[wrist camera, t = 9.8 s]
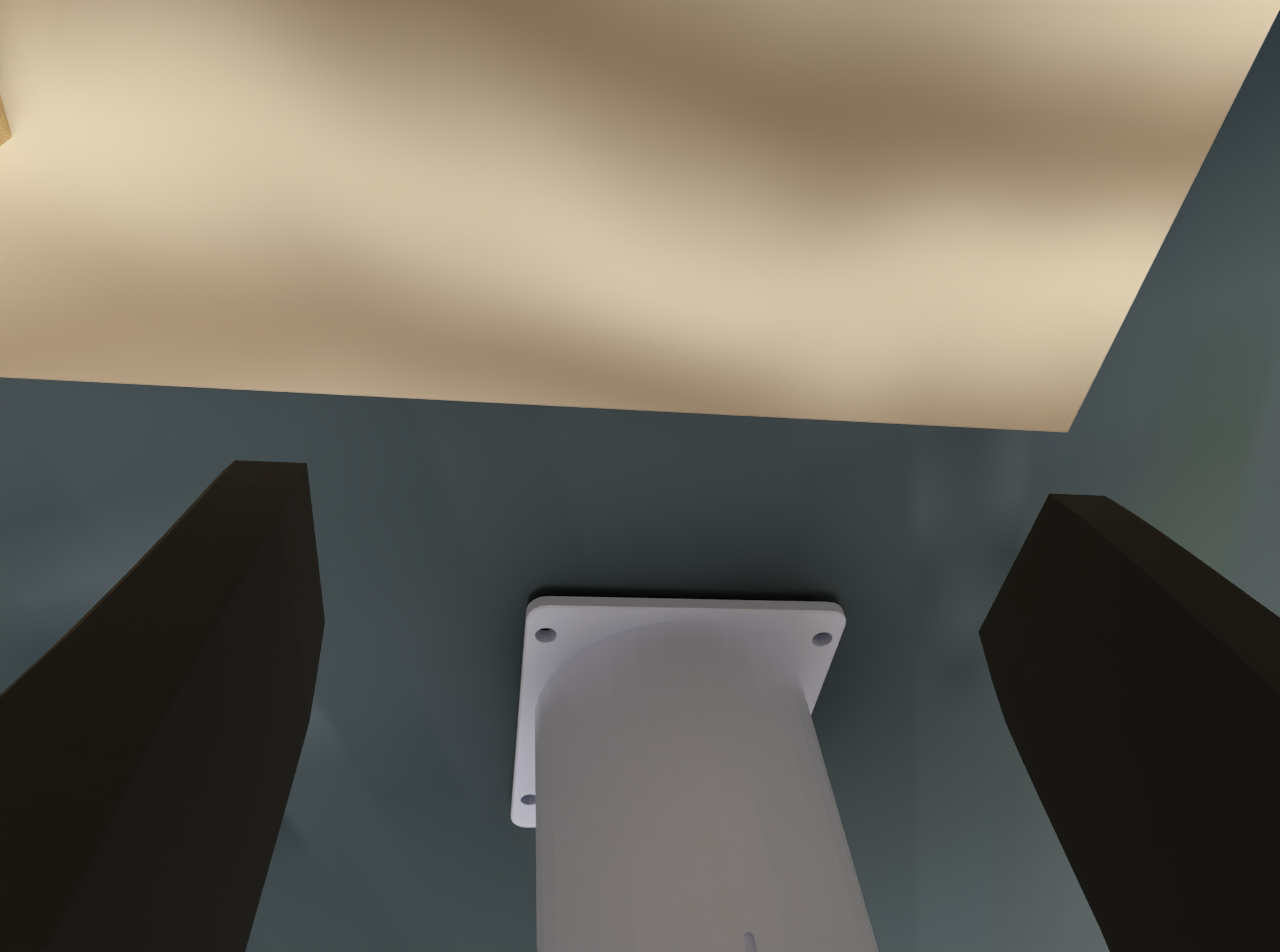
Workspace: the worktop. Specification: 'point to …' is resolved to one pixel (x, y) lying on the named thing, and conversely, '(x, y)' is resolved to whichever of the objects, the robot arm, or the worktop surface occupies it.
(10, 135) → the brass link
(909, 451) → the worktop surface
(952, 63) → the keeper board
